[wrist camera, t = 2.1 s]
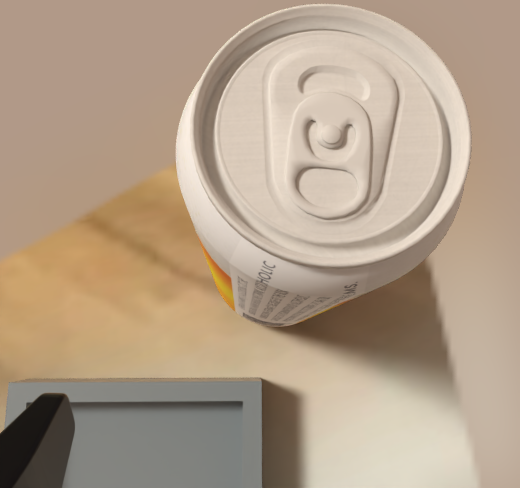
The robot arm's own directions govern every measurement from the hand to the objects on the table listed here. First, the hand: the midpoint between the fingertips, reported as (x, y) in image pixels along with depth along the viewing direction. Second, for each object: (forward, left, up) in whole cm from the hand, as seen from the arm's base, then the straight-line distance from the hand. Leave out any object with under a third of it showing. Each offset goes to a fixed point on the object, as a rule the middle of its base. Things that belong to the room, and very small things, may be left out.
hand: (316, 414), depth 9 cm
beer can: (+5, 0, -14) cm, 15 cm away
